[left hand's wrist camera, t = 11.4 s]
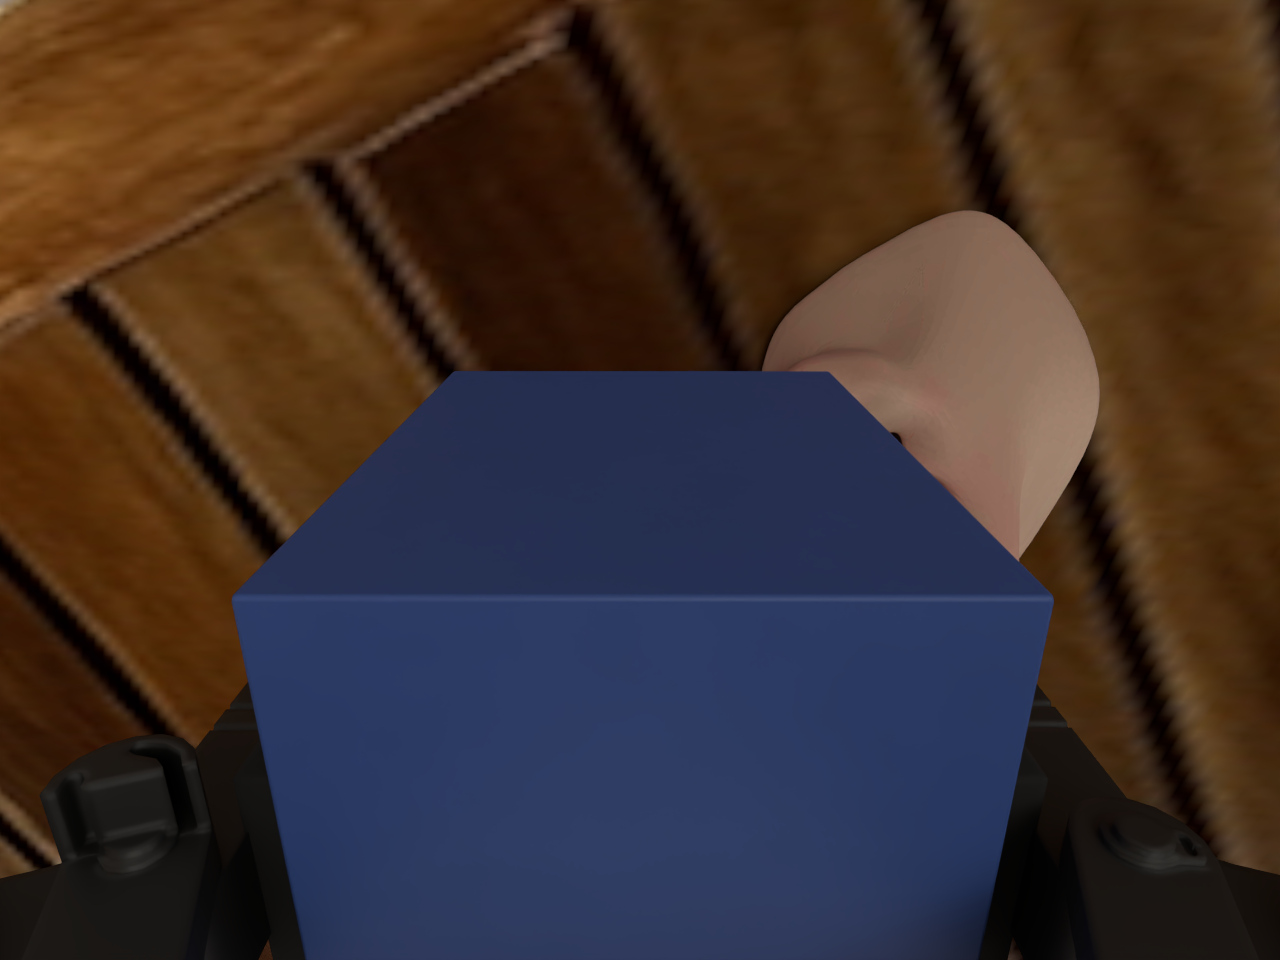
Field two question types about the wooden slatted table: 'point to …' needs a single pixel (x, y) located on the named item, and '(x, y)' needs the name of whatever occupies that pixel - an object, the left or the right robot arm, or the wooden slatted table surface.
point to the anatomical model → (959, 363)
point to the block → (642, 681)
